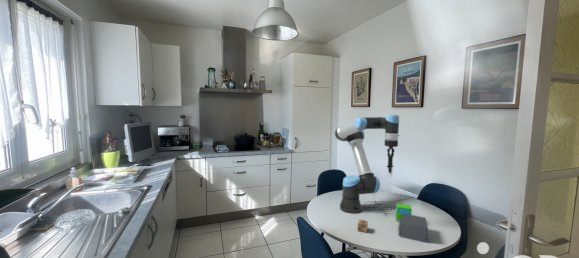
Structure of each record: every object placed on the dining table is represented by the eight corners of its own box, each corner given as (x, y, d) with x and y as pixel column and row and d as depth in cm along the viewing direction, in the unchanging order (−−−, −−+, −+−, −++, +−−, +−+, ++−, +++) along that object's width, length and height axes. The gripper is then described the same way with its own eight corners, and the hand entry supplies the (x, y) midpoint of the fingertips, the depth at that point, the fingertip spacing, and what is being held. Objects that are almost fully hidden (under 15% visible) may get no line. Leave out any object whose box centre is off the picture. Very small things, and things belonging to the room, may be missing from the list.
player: (400, 237, 132) (401, 223, 131) (400, 225, 144) (401, 213, 144) (427, 242, 126) (428, 228, 125) (424, 230, 139) (425, 217, 138)
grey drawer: (398, 234, 133) (398, 227, 133) (398, 225, 144) (398, 218, 143) (423, 240, 128) (424, 232, 127) (421, 230, 138) (422, 222, 138)
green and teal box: (409, 215, 158) (410, 201, 158) (412, 224, 146) (413, 209, 145) (393, 213, 162) (394, 199, 161) (394, 221, 150) (395, 206, 149)
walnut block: (357, 231, 138) (357, 222, 137) (358, 227, 142) (359, 219, 142) (366, 233, 136) (366, 224, 135) (367, 229, 140) (367, 221, 140)
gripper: (398, 141, 137) (396, 180, 139) (398, 138, 148) (396, 175, 150) (384, 140, 140) (382, 179, 142) (385, 138, 151) (383, 173, 154)
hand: (389, 177), depth 146 cm, fingers closed
